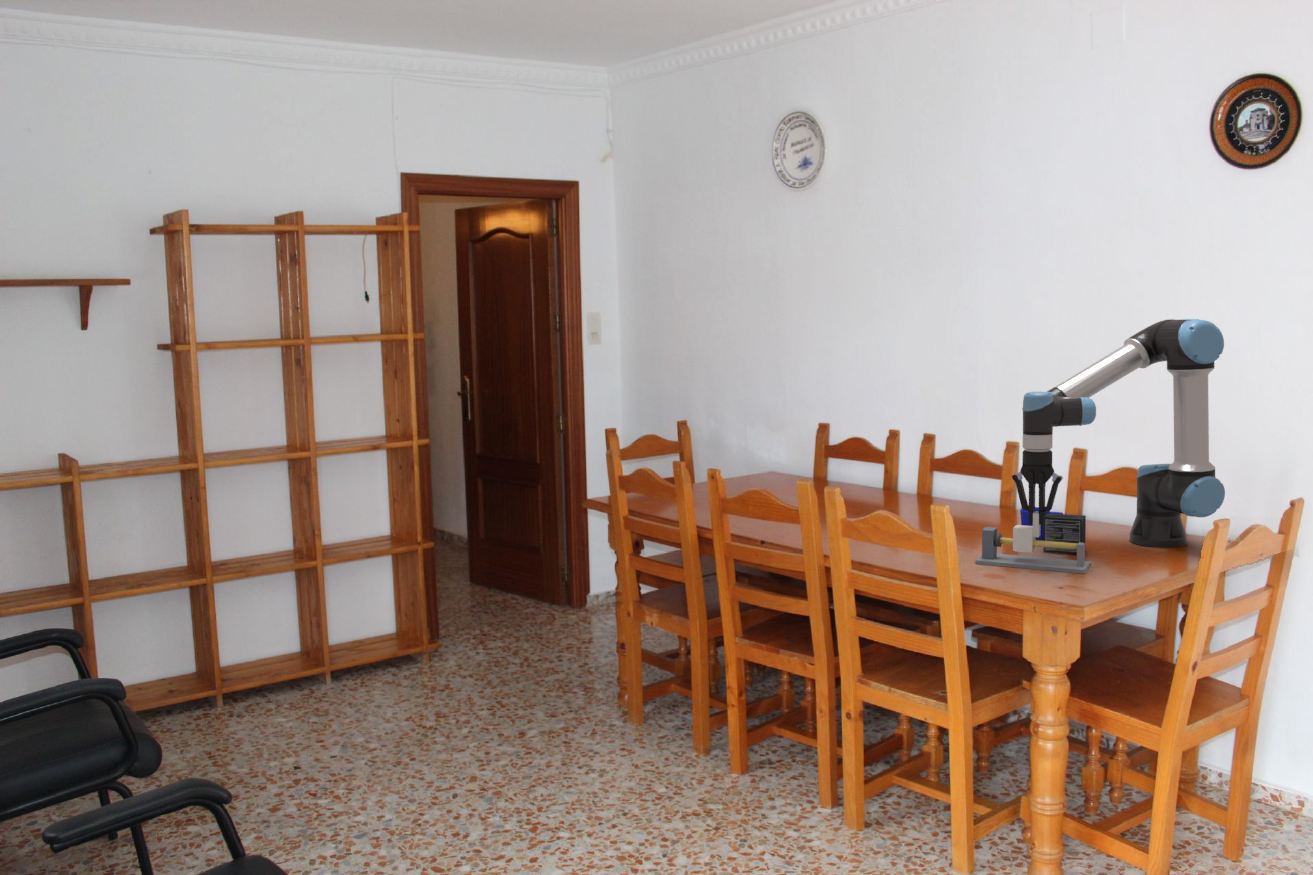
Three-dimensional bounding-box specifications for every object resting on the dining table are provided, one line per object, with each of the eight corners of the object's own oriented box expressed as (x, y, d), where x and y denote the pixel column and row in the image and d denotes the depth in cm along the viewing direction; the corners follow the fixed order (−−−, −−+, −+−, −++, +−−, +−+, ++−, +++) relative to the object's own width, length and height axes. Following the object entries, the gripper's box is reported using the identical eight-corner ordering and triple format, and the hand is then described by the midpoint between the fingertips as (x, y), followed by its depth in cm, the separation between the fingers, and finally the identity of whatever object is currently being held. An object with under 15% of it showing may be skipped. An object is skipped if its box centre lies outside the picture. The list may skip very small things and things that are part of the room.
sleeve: (1035, 549, 287) (1035, 526, 286) (1032, 552, 283) (1032, 529, 283) (1016, 547, 290) (1016, 524, 289) (1012, 550, 286) (1013, 527, 285)
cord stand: (1090, 565, 283) (1091, 532, 282) (1084, 573, 274) (1085, 539, 273) (984, 556, 297) (984, 524, 296) (975, 563, 289) (975, 531, 288)
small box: (1086, 550, 299) (1086, 514, 298) (1082, 555, 294) (1083, 518, 293) (1047, 547, 305) (1047, 512, 304) (1042, 552, 299) (1043, 516, 298)
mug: (1065, 546, 306) (1066, 512, 305) (1022, 545, 308) (1022, 512, 307) (1060, 540, 314) (1061, 507, 313) (1018, 539, 316) (1018, 506, 315)
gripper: (1065, 448, 281) (1064, 535, 284) (1015, 447, 288) (1014, 531, 291) (1060, 452, 275) (1059, 540, 278) (1009, 450, 282) (1008, 536, 284)
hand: (1036, 536), depth 284 cm, fingers closed
